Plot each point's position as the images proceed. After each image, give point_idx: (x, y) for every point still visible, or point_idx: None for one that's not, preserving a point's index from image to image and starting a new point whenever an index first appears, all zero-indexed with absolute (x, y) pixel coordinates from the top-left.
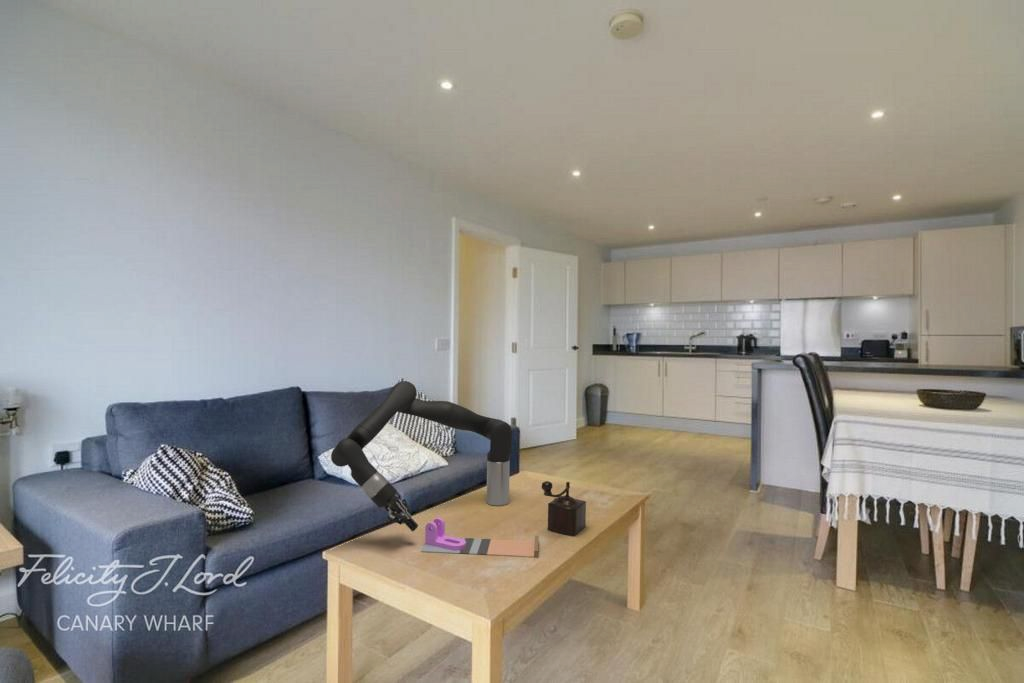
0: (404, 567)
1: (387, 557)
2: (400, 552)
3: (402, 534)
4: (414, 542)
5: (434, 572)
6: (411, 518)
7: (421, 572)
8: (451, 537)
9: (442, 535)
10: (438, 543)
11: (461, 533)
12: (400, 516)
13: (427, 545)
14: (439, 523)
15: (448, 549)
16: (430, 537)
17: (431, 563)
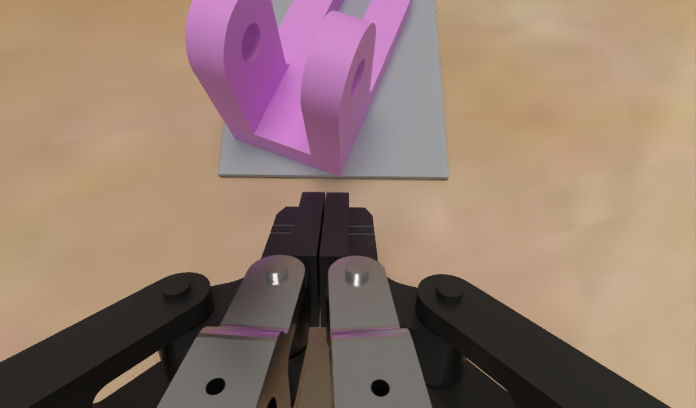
0: (666, 225)
1: None
2: None
3: None
4: None
5: (661, 60)
6: (300, 247)
7: (685, 119)
8: (295, 17)
9: (283, 63)
10: (378, 78)
11: (164, 12)
12: (578, 359)
13: (364, 157)
14: (257, 18)
15: (402, 36)
16: (356, 115)
17: (572, 93)
